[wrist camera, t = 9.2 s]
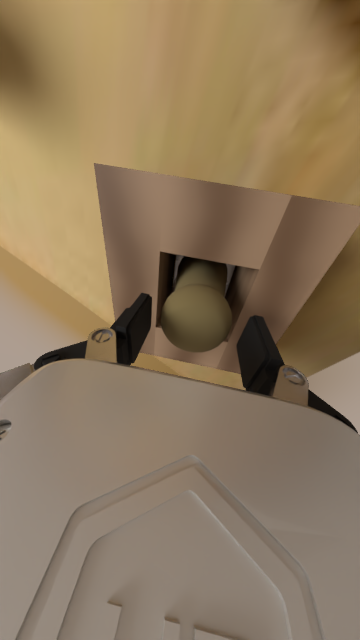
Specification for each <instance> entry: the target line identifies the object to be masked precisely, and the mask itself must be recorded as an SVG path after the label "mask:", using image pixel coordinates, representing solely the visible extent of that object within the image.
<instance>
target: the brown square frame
mask: <svg viewBox="0 0 360 640" xmlns="http://www.w3.org/2000/svg"><path fill="white" fill-rule="evenodd" d="M94 167H95V175H96V182H97V189H98V197H99V204H100V212H101V219H102V227H103V234H104V241H105V249H106V256H107V264H108V271H109V278H110V286H111V293H112V301H113V308H114V315H115V321H116V320H117V319H118V318H119V316H120V315H121V314H122V313H123V311H124V310H125V309H126V308H130V307H131V305H132V304H133V303H134V302H135V300H136V299H137V298H138V296H139V295H140V294H141V293H146V294H149V295H150V296H151V297H152V316H151V329H150V331H149V333H148V335H147V337H146V339H145V341H144V343H143V345H142V348H141V350H140V352H141V353H146V354H150V355H155V356H159V357H164V358H169V359H173V360H178V361H183V362H187V363H192V364H197V365H201V366H206V367H211V368H215V369H220V370H225V371H229V372H234V373H239V374H241V371H240V365H239V359H238V354H237V348H236V346H237V342H238V340H239V338H240V336H241V334H242V332H243V330H244V328H245V326H246V324H247V322H248V320H249V318H250V316H253V315H258V316H262V317H263V318H264V320H265V322H266V325H267V327H268V329H269V331H270V333H271V336H272V338H273V340H274V342H275V344H277V342H278V341H279V339H280V338H281V337H282V335H283V334H284V332H285V331H286V329H287V328H288V326H289V325H290V324H291V322H292V321H293V319H294V318H295V316H296V315H297V313H298V312H299V311H300V309H301V308H302V306H303V305H304V303H305V302H306V301H307V299H308V298H309V296H310V295H311V293H312V292H313V290H314V289H315V288H316V286H317V285H318V283H319V282H320V280H321V279H322V277H323V276H324V275H325V273H326V272H327V270H328V269H329V267H330V266H331V265H332V263H333V262H334V260H335V259H336V257H337V256H338V254H339V253H340V252H341V250H342V249H343V247H344V246H345V244H346V243H347V241H348V240H349V239H350V237H351V236H352V234H353V233H354V231H355V230H356V229H357V227H358V226H359V224H360V206H356V205H349V204H343V203H337V202H331V201H325V200H318V199H312V198H306V197H300V196H294V195H288V194H281V193H275V192H269V191H263V190H257V189H250V188H244V187H238V186H232V185H226V184H220V183H213V182H207V181H201V180H195V179H189V178H182V177H176V176H170V175H164V174H158V173H152V172H145V171H139V170H133V169H127V168H121V167H114V166H108V165H102V164H96V163H94ZM175 254H177V255H182V256H188V257H193V258H199V259H204V260H210V261H215V262H220V263H226V264H231V265H236V266H235V269H234V272H233V275H232V278H231V281H230V284H229V287H228V290H227V293H226V296H225V299H226V300H227V302H228V304H229V307H230V309H231V313H232V326H231V329H230V332H229V334H228V336H227V338H226V339H225V340H224V341H223V342H222V343H221V344H220V345H219V346H218V347H216V348H214V349H212V350H210V351H206V352H188V351H184V350H182V349H180V348H178V347H176V346H174V345H173V344H172V343H171V342H170V341H169V340H168V339H167V337H166V336H165V334H164V332H163V330H162V326H161V309H162V308H163V306H164V304H165V302H166V300H167V298H168V297H169V296H170V295H171V294H172V293H171V290H172V281H173V272H174V263H175Z"/></svg>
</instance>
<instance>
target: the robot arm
mask: <svg viewBox="0 0 360 640" xmlns="http://www.w3.org/2000/svg"><path fill="white" fill-rule="evenodd" d="M151 316H152V297H151V296H150V295H149V294H146V293H141V294H140V295H139V296H138V298H137V299H136V300H135V302H134V303H133V304H132V305H131V307H130V308H126V309H125V310H124V311H123V313H122V314H121V315H120V316H119V318H118V319H117V320H116V321H115V322H114V324H113V325H112V326H111V327H110V328H98V329H96V330H94V331H92V332H91V333H90V334H89V336H88V340H87V341H84V342H80V343H77V344H74V345H71V346H67V347H64V348H61V349H58V350H54V351H51V352H48V353H46V354H44V355H42V356H41V357H39V358H38V359H37V360H36V362H35V363H34V364H32V365H30V363H28V364H25V365H22V366H19V367H17V368H14V369H11V370H8V371H5V372H3V373H0V640H360V435H359V434H358V432H357V430H356V429H355V427H354V426H353V425H352V423H351V422H350V421H349V420H348V419H346V418H345V417H344V416H343V415H341V414H340V413H339V412H338V411H336V410H335V409H334V408H332V407H331V406H330V405H328V404H327V403H326V402H325V401H323V400H322V399H321V398H319V397H318V396H317V395H315V394H314V393H313V392H311V391H310V390H309V389H308V387H309V385H308V380H307V378H306V377H305V376H304V374H303V373H301V372H300V371H299V370H297V369H296V368H294V367H291V366H288V365H285V364H284V362H283V360H282V358H281V355H280V353H279V351H278V349H277V347H276V344H275V342H274V340H273V338H272V336H271V333H270V331H269V329H268V327H267V325H266V322H265V320H264V318H263V317H262V316H258V315H253V316H250V318H249V320H248V322H247V324H246V326H245V328H244V330H243V332H242V334H241V336H240V338H239V340H238V342H237V346H236V348H237V354H238V359H239V365H240V371H241V377H242V382H243V387H244V388H246V391H245V390H240V389H236V388H232V387H227V386H223V385H218V384H214V383H209V382H205V381H200V380H195V379H191V378H186V377H182V376H177V375H172V374H168V373H163V372H159V371H154V370H149V369H144V368H139V367H135V366H130V365H131V363H134V362H135V360H136V358H137V356H138V354H139V352H140V350H141V348H142V345H143V343H144V341H145V339H146V337H147V335H148V333H149V331H150V329H151Z"/></svg>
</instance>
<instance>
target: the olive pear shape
mask: <svg viewBox="0 0 360 640" xmlns="http://www.w3.org/2000/svg"><path fill="white" fill-rule="evenodd" d="M226 283H227V266H226V263H220V262H215V261H210V260H204V259H199V258H193V257H188V256H184V257H183V258H182V259H181V261H180V264H179V266H178V270H177V278H176V285H175V291H174V292H173V293H172V294H171V295H170V296H169V297H168V298H167V300H166V302H165V304H164V306H163V308H162V309H161V326H162V330H163V332H164V334H165V336H166V337H167V339H168V340H169V341H170V342H171V343H172V344H173V345H174V346H176V347H178V348H180V349H182V350H184V351H188V352H206V351H210V350H212V349H214V348H216V347H218V346H219V345H220V344H221V343H222V342H223V341H224V340H225V339H226V338H227V336H228V334H229V332H230V329H231V326H232V313H231V309H230V307H229V304H228V302H227V300H226V299H225V298H224V296H225V289H226Z"/></svg>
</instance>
